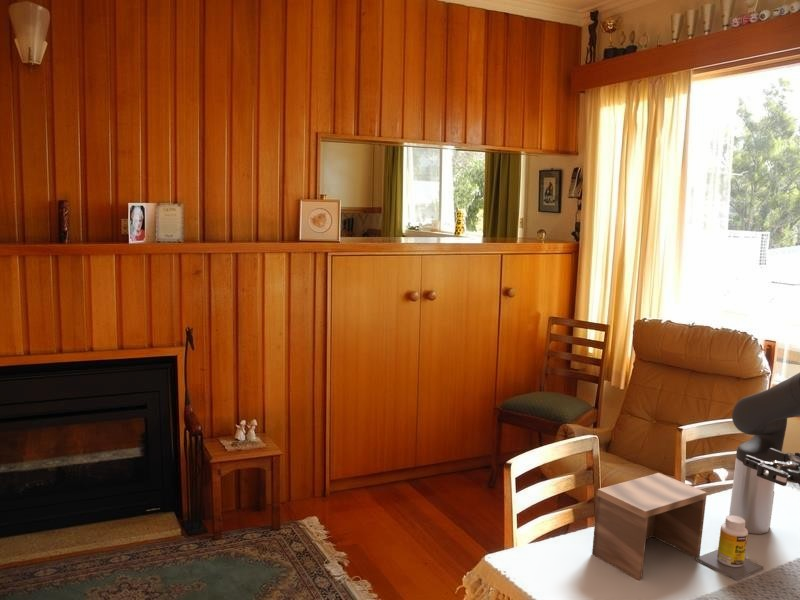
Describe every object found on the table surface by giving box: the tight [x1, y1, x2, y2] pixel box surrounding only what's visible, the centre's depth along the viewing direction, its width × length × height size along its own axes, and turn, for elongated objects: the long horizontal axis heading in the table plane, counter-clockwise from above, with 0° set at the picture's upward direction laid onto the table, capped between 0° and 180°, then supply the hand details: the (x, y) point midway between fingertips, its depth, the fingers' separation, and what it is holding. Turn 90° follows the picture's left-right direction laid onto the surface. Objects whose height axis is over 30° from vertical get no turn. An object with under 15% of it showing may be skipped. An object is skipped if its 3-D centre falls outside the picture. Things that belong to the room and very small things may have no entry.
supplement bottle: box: [717, 515, 749, 567], centre depth 169 cm, size 6×6×10 cm
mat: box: [695, 549, 764, 581], centre depth 170 cm, size 10×10×1 cm
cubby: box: [591, 472, 708, 581], centre depth 171 cm, size 21×13×16 cm, turn 124°
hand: (756, 455), depth 160 cm, fingers open, 8 cm apart
